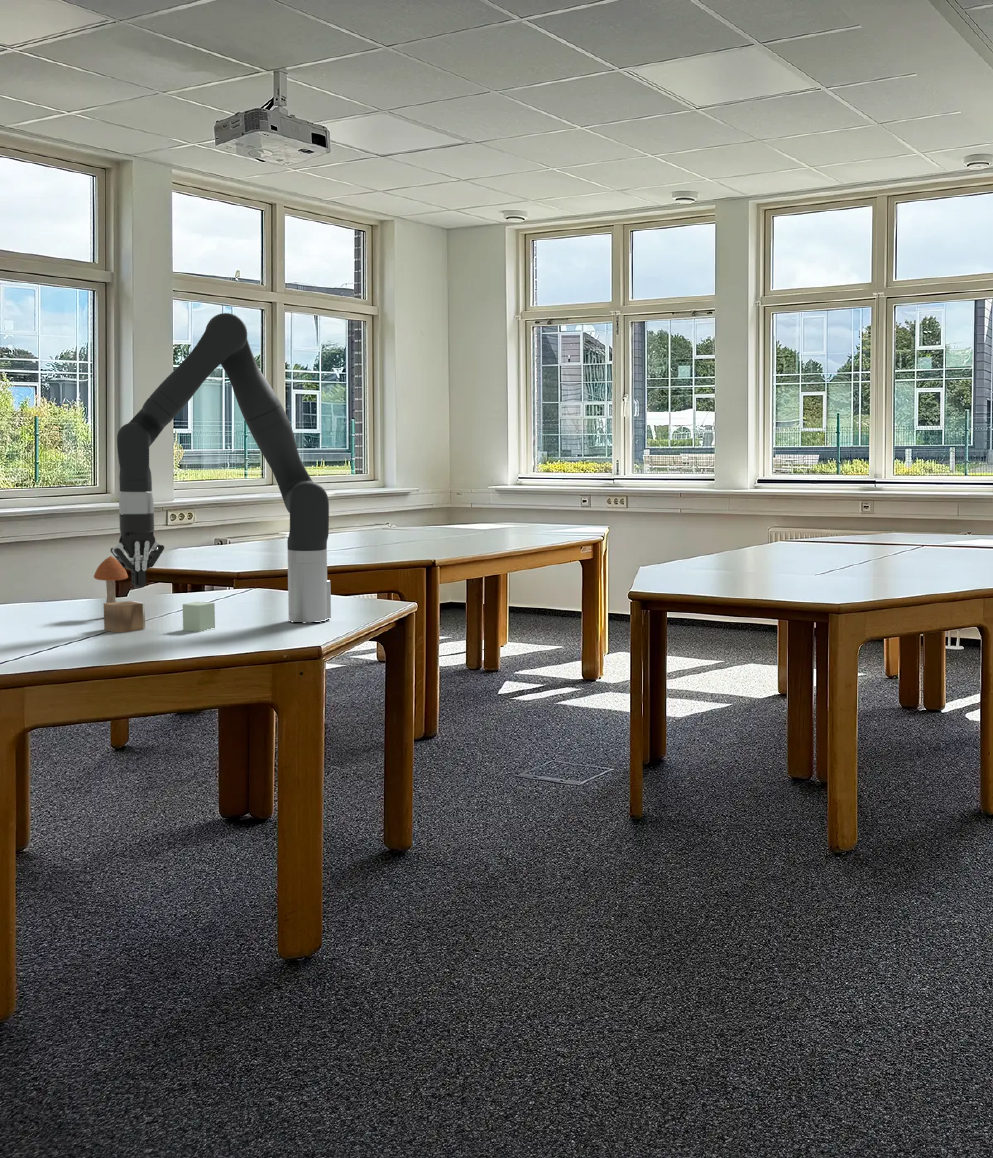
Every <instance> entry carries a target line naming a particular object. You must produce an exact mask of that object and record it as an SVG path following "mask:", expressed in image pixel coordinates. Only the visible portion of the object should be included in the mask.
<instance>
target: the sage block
mask: <svg viewBox="0 0 993 1158" xmlns="http://www.w3.org/2000/svg"><path fill="white" fill-rule="evenodd" d="M215 610H216V607H215V602H207V601H206V602H205V601H193V602H189V603H188V602H187V603H183V604H182V630H183V631H186V630H187V631H189V632H196V631H197V633H201V631H202V632H205V631H204V630H207V629H211V628H215V629H216V616H215V615H216V611H215ZM207 631H208V630H207Z"/></svg>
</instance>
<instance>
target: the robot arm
mask: <svg viewBox="0 0 993 1158" xmlns="http://www.w3.org/2000/svg"><path fill="white" fill-rule="evenodd" d="M220 365H221V367H222V369H223V371H224V372H225V374H226V376H227V378H228V379H229V382H230V385H231V388H232V390H233V393H234V395H235V397H234V398H235V399H236V402H237V404H238V407H239V409H240V412H241V414H242V417H243V419H244V421H245V423H246V424H245V425H246V426H247V427H248V430H249V432H250V435H251V436H252V438H253V439H254V441H255V443H256V445H257V447H258V449H259V451H260V453H261V455H262V456H263V457H264V459H265V462H266V463H267V464H268V466H269V468H270V469H271V472H272V474H273V476H274V479H275V481H276V483H277V486H278V488H279V492H280V494H281V497H282V501H283V503H284V506H285V508H286V511H287V512H288V513H289V533H288V537H287V542H286V543H287V593H288V594H287V595H288V596H287V597H288V598H287V601H288V602H287V603H288V604H287V605H288V608H287V609H288V621H289V620H290V621H293V622H315V621H321V620H325V619H327V618H331V619H332V603H331V602H332V599H331V598H332V594H331V589H332V587H331V580H330V579H328V551H327V548H328V547H327V543H328V540H329V539H328V538H329V534H330V533H329V531H330V530H329V529H330V504H329V497H328V493H327V491H326V490H325V489H324V488H323V486H321V485H320V484H318V483H316V482H314V481H313V479H312V478H311V476H310V475H309V473H308V471H307V469H306V467H305V466H304V463H303V461H302V459H301V457H300V454H299V451H298V447H297V446H298V445H297V443H296V438H295V435H294V431H293V428H292V425H291V423H290V419H289V417H288V415H287V413H286V410H285V408H284V407H283V405H282V402H281V401H280V399H279V397H278V396H277V394H276V392H275V390H274V389H273V388H272V385H270V383H269V381H268V380H267V378H266V376H264V374H263V372H262V370H261V369H260V368H259V366H258V364H257V361H256V359H255V357H254V353H253V352H252V349H251V346H250V343H249V340H248V330H247V326H246V324H245V322H244V321H243V319H241V317H239V316H237V315H236V314H233V313H229V312H227V313H226V312H222V313H218V314H216V315H214V316H213V317H212V318H211V319H209V321H208V322H207V325H206V327H205V331H204V332H203V334H202V335H201V337H200V339H199V340H198V342H196V345H195V346H194V348H193V349H192V350H191V352H190V353H189V354H188V355H187V356H186V358H185V359H184V360H183V361H182V362H181V363H180V364H179V365H177V367H176V368H175V369H174V370H173V371H172V372H171V373H170V374H169V375H168V376H167V377H166V378H165V379H164V380H163V381H162V382H161V383H160V384H159V386H158V387H157V388H155V390H154V391H153V392H152V394H151V395H149V397H148V398H147V399H146V401H145V402H144V404H143V405H142V407H141V409H140V410H139V411H137V412H136V413H137V414H135V416H134V417H132V419H131V420H130V421H129V422H128V423H126V424H124V425H122V426H121V427H120V428H119V429H118V431H117V435H116V447H117V457H118V465H119V474H118V479H119V498H118V500H119V501H118V513H119V515H118V517H119V532H120V537H119V539H118V542H119V543H118V544H117V545H115V547H111V548H110V553H111V554H112V556H113V557H114V558H115V559H117V560H118V562H119V563H120V564H121V565H122V567H123V568H124V569H125V570H126V569H127V570H130V572H131V584H132V586H133V588H144V587H145V585H147V584H146V583H147V574H146V573H147V570H148V569H151V568H153V567H154V566H155V564H156V563H157V561H158V559H159V558H160V556H161V554H162V553H163V551H164V550H165V546H164V545H163V544H160V543H158V542H157V541H156V537H155V535H154V532H155V515H154V514H155V507H154V503H155V502H154V498H153V492H152V491H153V484H152V483H153V481H152V480H153V479H152V470H151V467H150V446H151V445H152V444H153V443H154V442H155V441H156V440H157V438H158V437H159V435H160V434H161V433H162V432H163V430H164V428H165V427H167V425H169V424H170V423H171V421H173V420H174V419H175V417H176V416H178V414H179V413H180V412H181V410H182V409H183V408H184V407H185V406H186V405H187V403H189V401H190V400H191V399H192V397H193V396H194V395H195V393H196V392H197V391H198V389H199V388H200V387H201V386H202V384H203V383H204V382H205V381H206V380H207V379H208V377H209V376H210V375H211V374H212V373H213V372H214V371H215V370H216V369H217V368H219V366H220ZM125 553H126V554H125ZM126 555H127V556H126ZM293 622H292V623H293Z"/></svg>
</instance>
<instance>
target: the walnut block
mask: <svg viewBox="0 0 993 1158" xmlns="http://www.w3.org/2000/svg"><path fill="white" fill-rule="evenodd" d="M145 605H146V603H145V602H141V601H135V600H128V601H127V600H126V601H125V600H124V601H116V602H113V603H105V602H104V603H103V625H104V627H103V628H104V629H103V630H104V631H109V632H111V633H112V632H113V633H117V634H118V633H124V632H125V633H127V632H133V631H136V632H137V631H143V629H145V630H146V606H145Z"/></svg>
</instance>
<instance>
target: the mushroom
mask: <svg viewBox="0 0 993 1158" xmlns="http://www.w3.org/2000/svg"><path fill="white" fill-rule="evenodd" d="M128 578H129V575H128V573H127V570H126V569H125V568H123V567H122V565H121V564H120V563H119V562H118V560H117V559H116V558H115V557H114V556H113V555H110V556H108V557H107V558H105V559H104V560H103V561H102V562H101V563H100V564H99V565H98V566H97V568H96V570H95V572H94V575H93V579H95V580H98V581H105V587H106V588H105V589H106V590H105V591H106V603H113V602H117V598H116V581H124V580H127V579H128Z"/></svg>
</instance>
